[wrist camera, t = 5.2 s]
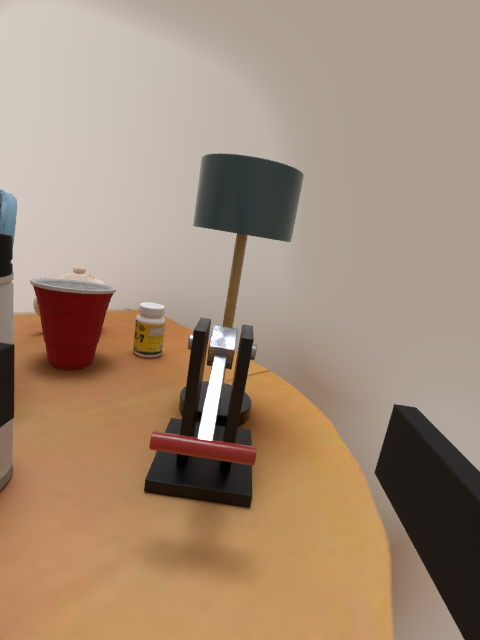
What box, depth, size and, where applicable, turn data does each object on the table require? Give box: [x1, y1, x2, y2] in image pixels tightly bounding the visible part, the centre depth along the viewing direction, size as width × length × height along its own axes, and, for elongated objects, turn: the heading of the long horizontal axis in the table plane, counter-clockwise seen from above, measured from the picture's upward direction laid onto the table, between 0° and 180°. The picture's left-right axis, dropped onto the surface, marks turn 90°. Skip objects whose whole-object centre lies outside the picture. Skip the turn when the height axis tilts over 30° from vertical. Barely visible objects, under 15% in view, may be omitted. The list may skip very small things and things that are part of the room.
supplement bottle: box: [133, 303, 165, 358], centre depth 58 cm, size 5×5×8 cm
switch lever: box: [150, 325, 256, 466], centre depth 27 cm, size 12×7×2 cm, turn 178°
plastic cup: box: [30, 278, 116, 369], centre depth 50 cm, size 11×11×12 cm
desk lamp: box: [179, 154, 303, 426], centre depth 41 cm, size 11×11×29 cm
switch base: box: [144, 318, 257, 507], centre depth 32 cm, size 10×9×14 cm
